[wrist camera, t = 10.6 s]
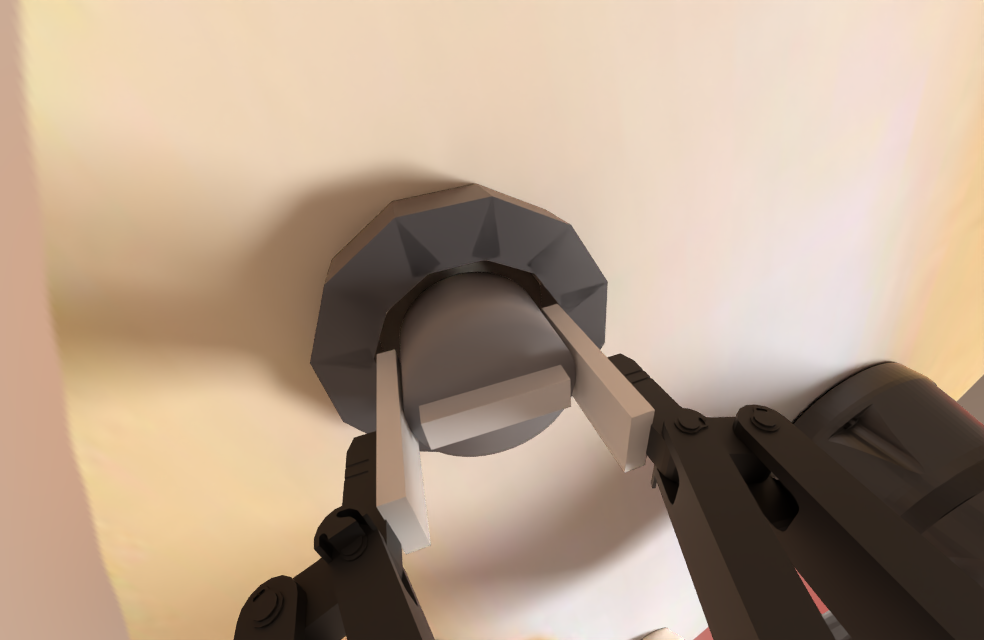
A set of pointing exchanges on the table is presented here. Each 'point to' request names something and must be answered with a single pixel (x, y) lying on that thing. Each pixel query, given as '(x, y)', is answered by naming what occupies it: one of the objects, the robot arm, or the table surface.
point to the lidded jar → (663, 635)
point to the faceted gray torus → (432, 248)
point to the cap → (481, 366)
